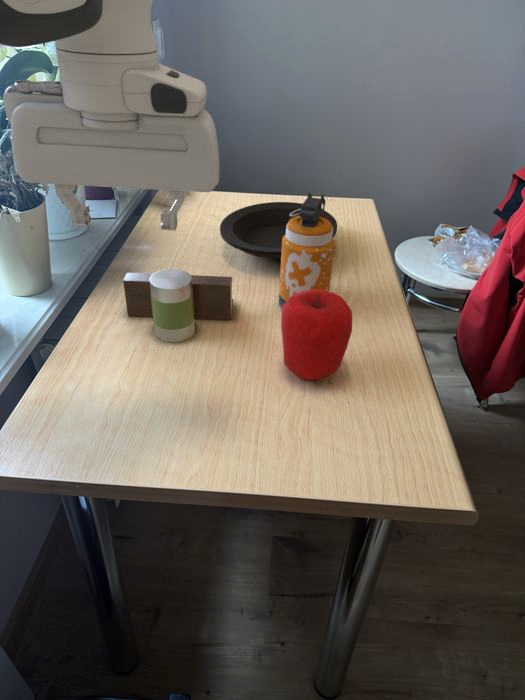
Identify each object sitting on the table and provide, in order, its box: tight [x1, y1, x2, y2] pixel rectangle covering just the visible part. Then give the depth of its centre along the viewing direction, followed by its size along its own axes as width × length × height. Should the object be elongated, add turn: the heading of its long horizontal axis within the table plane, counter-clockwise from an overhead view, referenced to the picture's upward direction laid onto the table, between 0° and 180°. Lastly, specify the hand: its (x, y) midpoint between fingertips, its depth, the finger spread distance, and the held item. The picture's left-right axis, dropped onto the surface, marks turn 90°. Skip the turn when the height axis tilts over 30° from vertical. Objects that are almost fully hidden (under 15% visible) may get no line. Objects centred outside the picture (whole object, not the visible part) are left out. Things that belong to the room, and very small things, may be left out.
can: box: [150, 268, 196, 344], centre depth 86 cm, size 7×7×10 cm
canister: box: [278, 192, 336, 308], centre depth 92 cm, size 9×11×20 cm
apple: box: [280, 289, 353, 381], centre depth 77 cm, size 10×10×14 cm
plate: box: [219, 201, 338, 260], centre depth 115 cm, size 28×24×6 cm
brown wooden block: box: [122, 272, 234, 321], centre depth 93 cm, size 18×6×7 cm, turn 88°
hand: (125, 226), depth 57 cm, fingers open, 8 cm apart
